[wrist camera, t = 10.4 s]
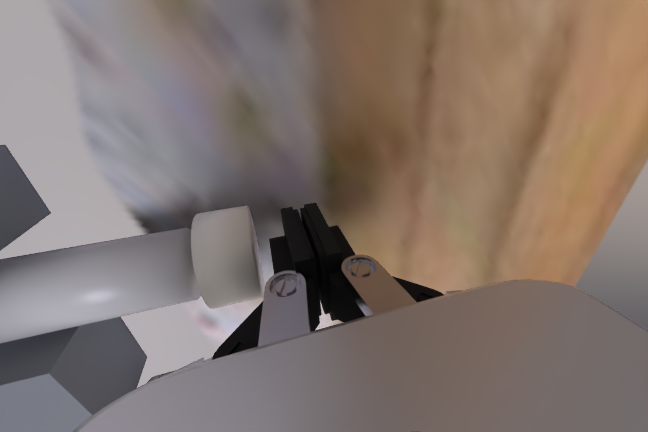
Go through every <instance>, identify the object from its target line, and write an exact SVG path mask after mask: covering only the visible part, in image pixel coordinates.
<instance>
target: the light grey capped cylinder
mask: <svg viewBox="0 0 648 432" xmlns="http://www.w3.org/2000/svg"><path fill="white" fill-rule="evenodd" d="M201 295H202V297H203V300H204V301H205V303H206V304H207V306H208V307H209V308H211V309H214V308H218V307H223V306H227V305H231V304H236V303H240V302H244V301H248V300H253V299H257V298H261V297H264V283H263V274H262V266H261V260H260V254H259V248H258V242H257V237H256V232H255V228H254V223H253V219H252V215H251V212H250V209H249V207H248V205H247V206H241V207H235V208H228V209H222V210H216V211H210V212H204V213H198V214H196V215H195V217H194V219H193V222H192V228H191V230H190V229H189V228H181V229H175V230H169V231H163V232H157V233H152V234H146V235H140V236H134V237H129V238H122V239H117V240H111V241H105V242H99V243H94V244H88V245H81V246H76V247H70V248H64V249H58V250H52V251H47V252H41V253H35V254H29V255H23V256H17V257H11V258H6V259H0V343H4V342H9V341H13V340H18V339H22V338H27V337H31V336H36V335H40V334H45V333H49V332H54V331H58V330H62V329H67V328H71V327H76V326H80V325H85V324H89V323H94V322H98V321H103V320H107V319H112V318H116V317H121V316H125V315H129V314H134V313H138V312H143V311H147V310H152V309H156V308H160V307H165V306H170V305H174V304H179V303H183V302H188V301H192V300H196V299H199V298H200V296H201Z"/></svg>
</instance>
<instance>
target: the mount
mask: <svg viewBox="0 0 648 432" xmlns="http://www.w3.org/2000/svg"><path fill="white" fill-rule="evenodd" d="M50 213H51V212H50V211H49V210H48V208H47V206H46V205H45V204H44V202H43V200H42V199H41V197H40V196H39V194H38V193H37V191H36V190H35V188H34V187H33V186H32V184H31V183H30V181H29V180H28V178H27V177H26V175H25V174H24V172H23V171H22V169H21V168H20V166H19V165H18V163H17V162H16V160H15V159H14V157H13V156H12V154H11V153H10V151H9V150H8V148H7V147H6V145H0V250H2V249H3V248H4V247H6V246H7V245H8V244H10V243H11V242H12V241H14V240H15V239H16V238H18V237H19V236H21V235H22V234H23V233H25V232H26V231H27V230H29V229H30V228H31V227H33V226H34V225H35V224H37V223H38V222H39V221H40V220H42V219H44V218H45V217H46V216H47V215H49V214H50ZM146 359H147V356H146V354H145V353H144V351H143V350H142V349H141V347H140V346H139V344H138V343H137V341H136V340H135V338H134V337H133V335H132V334H131V332H130V331H129V329H128V328H127V326H126V325H125V323H124V322H123V320H122V319H121V317H116V318H112V319H107V320H103V321H98V322H94V323H89V324H85V325H80V326H76V327H71V328H67V329H62V330H58V331H54V332H49V333H45V334H40V335H36V336H31V337H27V338H22V339H18V340H13V341H9V342H4V343H0V432H73V431H74V430H75V429H76V428H77V427H78V426H79V425H81V424H82V423H83V422H84V421H86V420H87V419H88V418H90V417H91V416H92V415H94V414H95V413H97V412H98V411H99V410H101V409H102V408H104V407H105V406H107V405H109V404H110V403H112V402H113V401H115V400H117V399H118V398H120V397H122V396H123V395H125V394H127V393H128V392H130V391H132V390H134V389H136V388H137V385H138V382H139V379H140V376H141V373H142V370H143V367H144V364H145V362H146Z"/></svg>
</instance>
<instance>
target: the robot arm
mask: <svg viewBox="0 0 648 432" xmlns="http://www.w3.org/2000/svg"><path fill="white" fill-rule="evenodd" d="M300 211H301V218H300V215H299V213H298V210H297V209H295V210H293V208H292V207H289V208H283V209H281V216H282V222H283V228H284V233H285V236H281V237H276V238H271V239H269V241H270V248H271V255H272V262H273V269H274V275H273V276H272V277H271V278H269V280H268V281H267V282H266V285H265V290H264V299H263V302H262V303H261V304H260V305H259V306H258V307H257V308H256V309H255V310H254V311H253V312H252V313H251V314H250V315H249V316H248V317H247V318H246V320H245V321H244V322H243V323H242V324H241V325H240V326H239V327H238V328H237V329H236V330H235V331H234V332H233V333H232V334H231V335H230V336H229V337H228V338H227V339H226V340H225V342H224V343H223V344H222V345H221V346H220V347H219V348H218V349H217V351H216V352H215V353H214V355H213V357H212V358H210V359H207V360H206V361H205V360H204V358H201V359H199V360H198V361H195V362H193V363H191V364H189V365H187V366H185V367H183V368H180V369H178V370H176V371H174V372H172V373H170V374H168V375H165V376H163V377H160V378H158V379H155V380H153V381H150V382H148V383H146V384H145V385H142V386H140V387H138V388H136V389H134V390H132V391H130V392H128V393H127V394H125V395H123V396H122V397H120V398H118V399H117V400H115V401H113V402H112V403H110V404H109V405H107V406H105V407H104V408H102V409H101V410H99V411H98V412H97V413H95V414H94V415H92V416H91V417H90V418H88V419H87V420H86V421H84V422H83V423H82V424H81V425H79V426H78V427H77V428H76V429H75V430H74V431H73V432H648V330H647V329H645V328H644V327H643V326H641V325H639V324H638V323H636V322H635V321H633V320H631V319H630V318H628V317H627V316H625V315H623V314H622V313H620V312H619V311H617V310H615V309H614V308H612V307H610V306H609V305H607V304H605V303H604V302H602V301H600V300H598V299H597V298H595V297H593V296H591V295H589V294H588V293H586V292H584V291H582V290H580V289H577V288H575V287H573V286H570V285H567V284H564V283H559V282H554V281H546V280H529V279H528V280H511V281H504V282H497V283H493V284H488V285H484V286H479V287H475V288H471V289H467V290H460V291H446V293H445V295H443V294H442V293H441V292H439V291H436V290H434V289H431V288H428V287H425V286H421V285H418V284H415V283H412V282H409V281H406V280H402V279H399V278H396V277H393V276H391V275H390V274H389V273H388V272H387V271H386V270H385V269H384V268H383V267H382V266H381V265H380V264H379V263H378V261H376V260H375V259H374V258H372V257H370V256H367V255H355V253H354V252H353V250H352V248H351V247H350V245H349V243H348V242H347V240H346V238H345V237H344V235H343V233H342V232H341V230H340V228H339V227H338V226H337V225H336V226H331V227H329V226H328V225H327V223H326V221H325V219H324V217H323V215H322V213H321V211H320V210H319V208H318V206H317V204H316V203H311V204H306V205H304V208H300ZM301 219H302V221H301ZM320 301H321V304H322V307H323V310H324V313H325V314H327V313H329V314H330V316H331V319H332V321H333V320H337V319H338V320H340V321H342V322H344V323H340V324H337V325H333V326H329V327H326V328H322V329H319V330H315V329H316V328H317V326H318V325H319V323H320V321H319V316H320V315H321V306H320Z"/></svg>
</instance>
